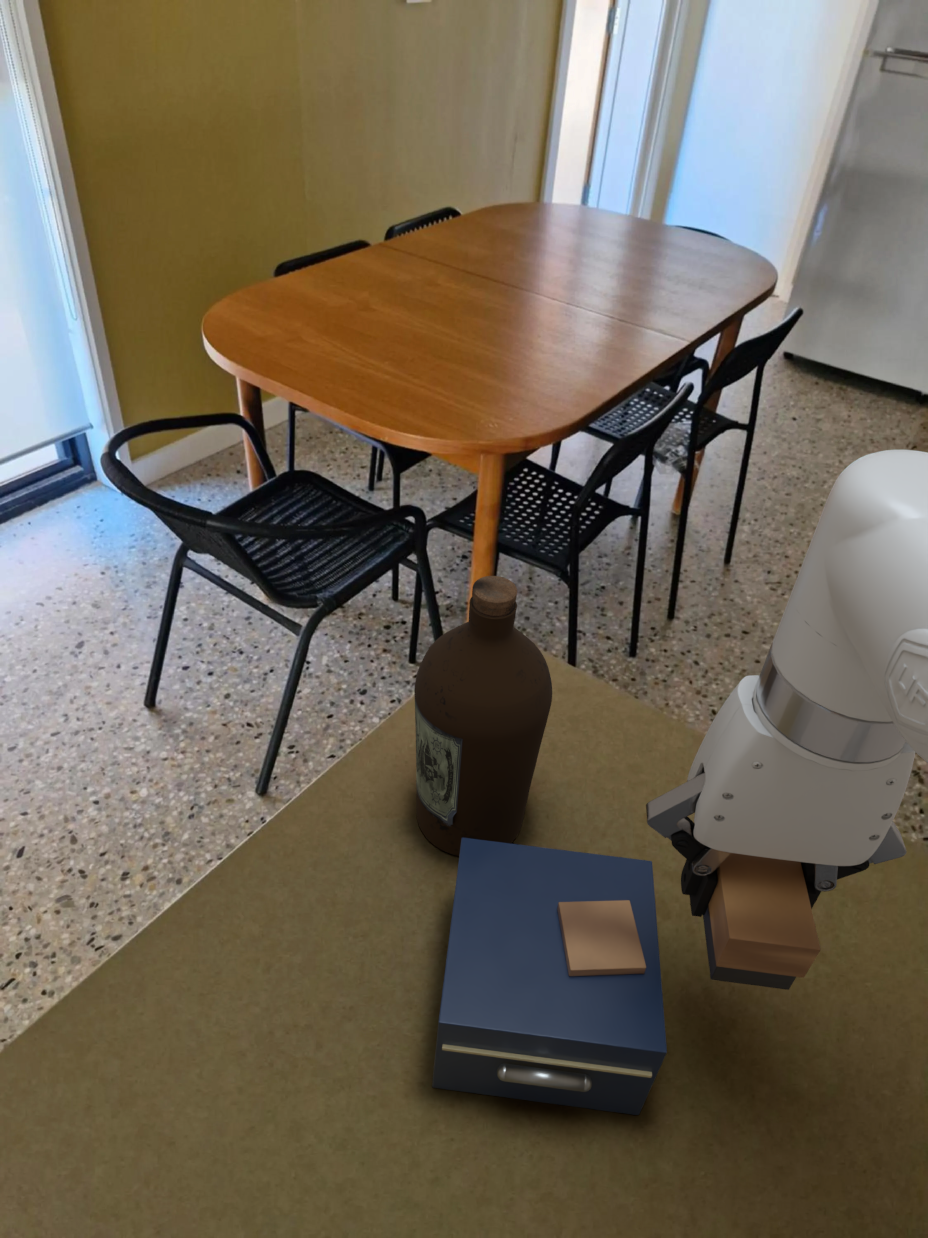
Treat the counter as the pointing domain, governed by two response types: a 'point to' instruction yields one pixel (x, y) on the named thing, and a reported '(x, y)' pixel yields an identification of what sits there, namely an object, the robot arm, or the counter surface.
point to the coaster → (600, 938)
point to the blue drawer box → (546, 983)
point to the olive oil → (479, 723)
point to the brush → (760, 923)
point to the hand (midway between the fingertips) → (740, 900)
